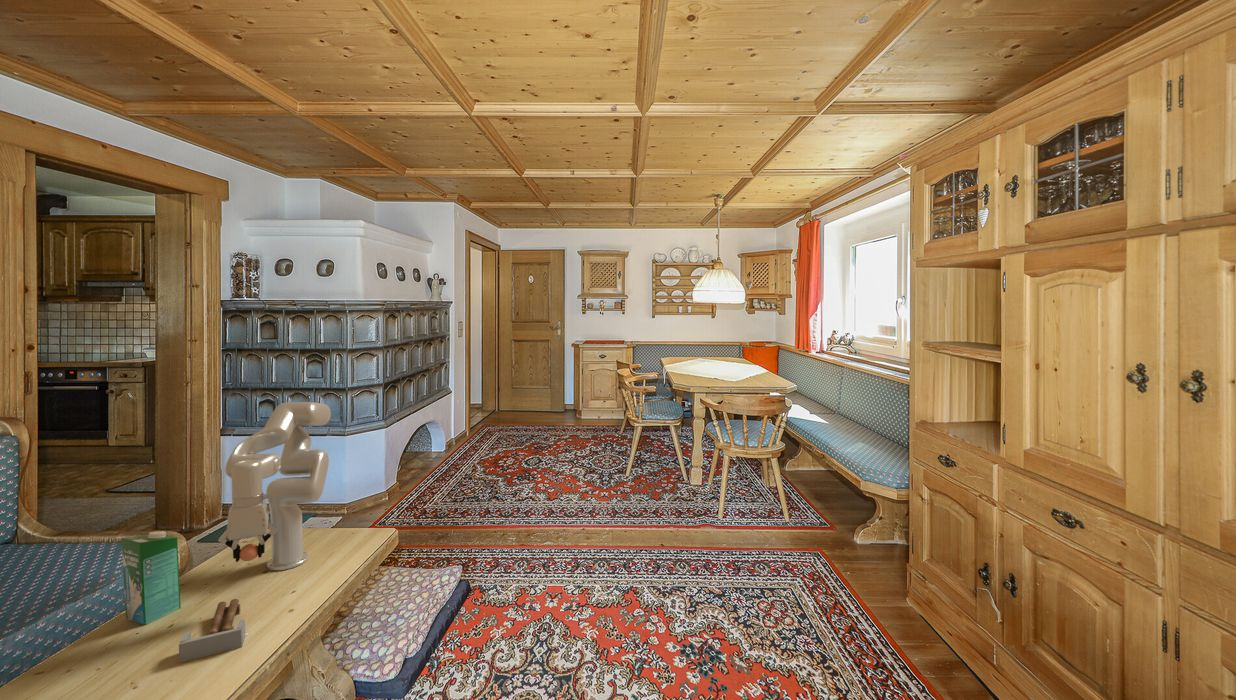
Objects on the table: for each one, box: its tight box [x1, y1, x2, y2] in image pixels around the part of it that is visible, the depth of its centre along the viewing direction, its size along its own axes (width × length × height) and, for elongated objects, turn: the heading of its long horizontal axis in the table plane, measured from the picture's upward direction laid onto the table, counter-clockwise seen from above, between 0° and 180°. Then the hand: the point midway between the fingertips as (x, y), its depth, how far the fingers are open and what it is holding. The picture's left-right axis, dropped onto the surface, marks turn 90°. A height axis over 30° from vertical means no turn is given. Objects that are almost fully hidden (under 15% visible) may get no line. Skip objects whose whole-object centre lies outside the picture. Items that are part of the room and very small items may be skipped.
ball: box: [239, 543, 258, 562], centre depth 149 cm, size 5×5×5 cm
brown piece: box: [207, 598, 241, 635], centre depth 140 cm, size 12×6×4 cm, turn 29°
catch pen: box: [178, 618, 247, 663], centre depth 130 cm, size 5×13×5 cm, turn 119°
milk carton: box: [121, 530, 182, 626], centre depth 144 cm, size 9×9×25 cm
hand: (249, 557), depth 149 cm, fingers closed on ball, 4 cm apart
